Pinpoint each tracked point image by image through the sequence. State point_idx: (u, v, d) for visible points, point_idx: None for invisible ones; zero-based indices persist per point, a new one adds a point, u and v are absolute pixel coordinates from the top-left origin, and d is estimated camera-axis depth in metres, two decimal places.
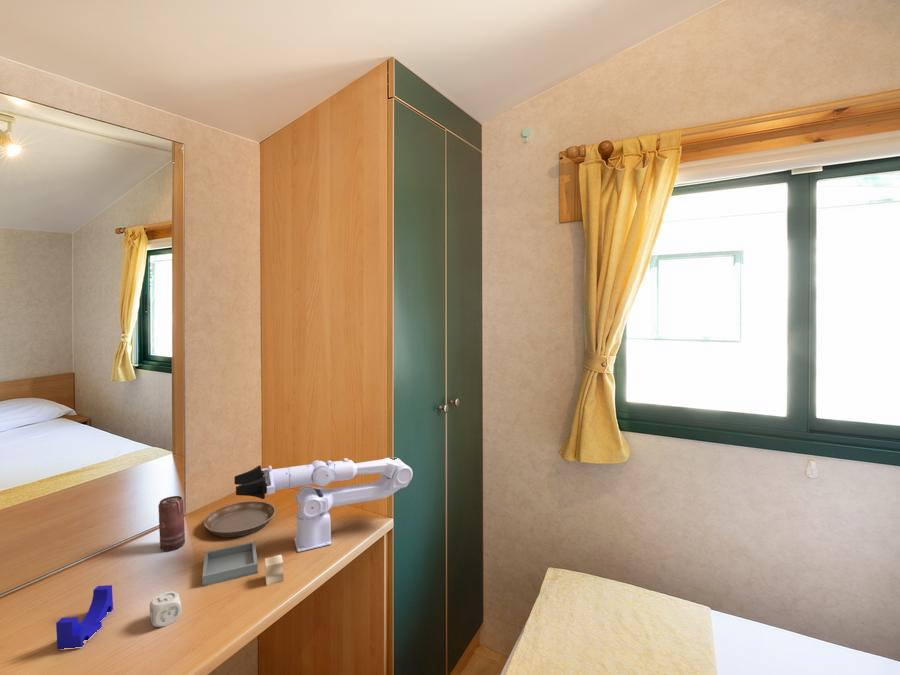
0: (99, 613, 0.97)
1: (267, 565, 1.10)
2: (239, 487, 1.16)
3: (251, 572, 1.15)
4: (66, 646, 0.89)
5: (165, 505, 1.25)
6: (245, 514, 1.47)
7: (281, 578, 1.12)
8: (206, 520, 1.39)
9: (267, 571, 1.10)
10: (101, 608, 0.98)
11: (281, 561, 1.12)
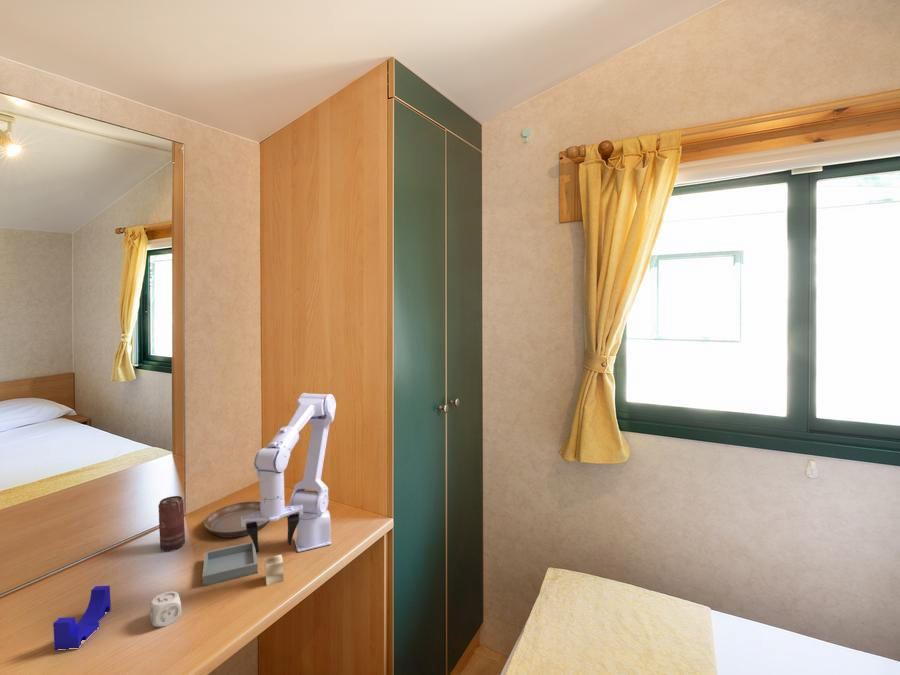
0: (97, 613, 0.97)
1: (267, 565, 1.10)
2: None
3: (251, 572, 1.15)
4: (63, 646, 0.89)
5: (165, 505, 1.25)
6: (245, 514, 1.47)
7: (281, 578, 1.12)
8: (206, 520, 1.39)
9: (267, 571, 1.10)
10: (99, 608, 0.98)
11: (281, 561, 1.12)
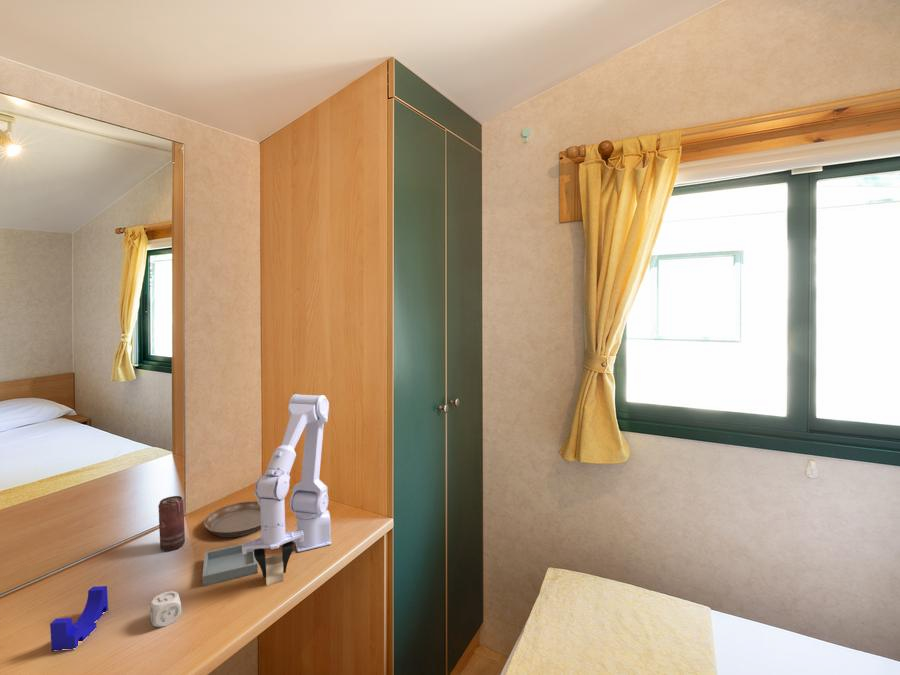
0: (94, 614, 0.97)
1: (267, 565, 1.10)
2: (285, 569, 1.13)
3: (251, 572, 1.15)
4: (60, 647, 0.89)
5: (165, 505, 1.25)
6: (245, 514, 1.47)
7: (281, 578, 1.12)
8: (206, 520, 1.39)
9: (267, 571, 1.10)
10: (96, 609, 0.98)
11: (281, 561, 1.12)
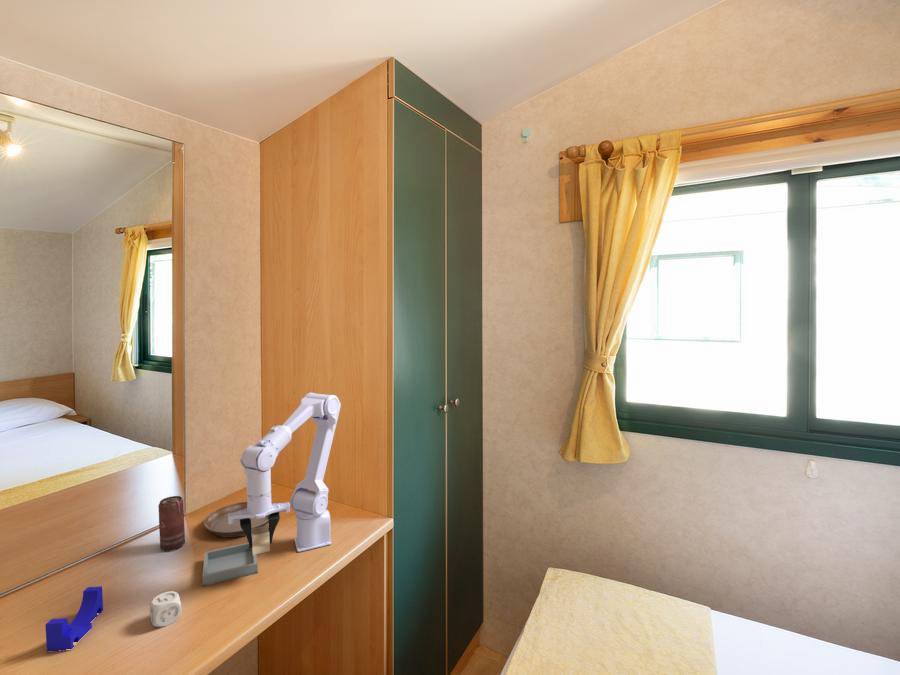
0: (89, 614, 0.97)
1: (253, 535, 1.11)
2: (271, 539, 1.14)
3: (251, 572, 1.15)
4: (55, 648, 0.89)
5: (165, 505, 1.25)
6: None
7: (267, 548, 1.13)
8: (206, 520, 1.39)
9: (253, 541, 1.11)
10: (91, 609, 0.98)
11: (267, 531, 1.13)
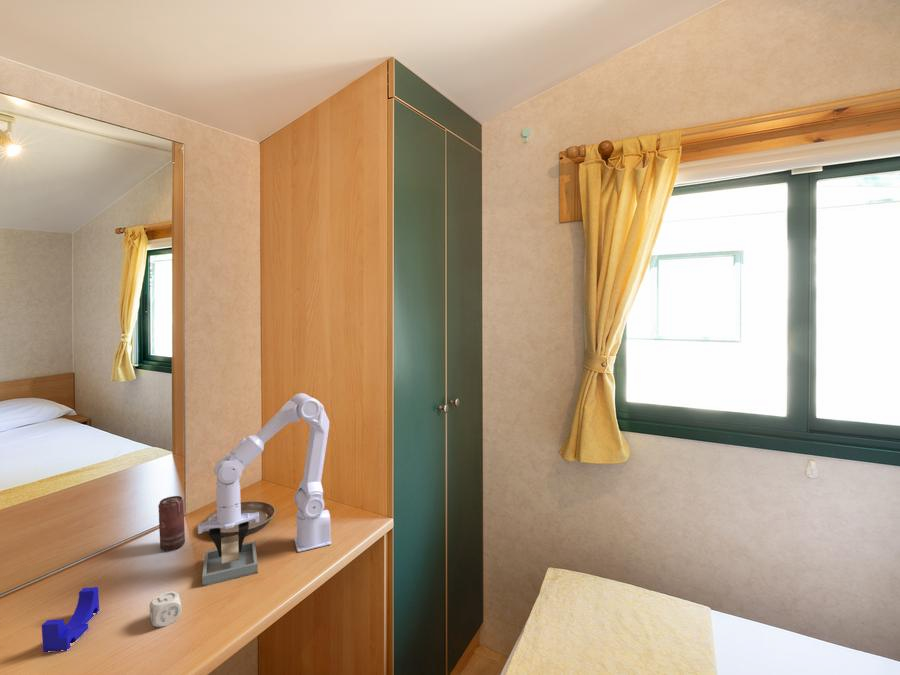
0: (85, 615, 0.97)
1: (222, 544, 1.15)
2: (241, 548, 1.18)
3: (251, 572, 1.15)
4: (52, 648, 0.89)
5: (165, 505, 1.25)
6: None
7: (236, 557, 1.17)
8: (206, 520, 1.39)
9: (222, 550, 1.15)
10: (87, 610, 0.97)
11: (236, 540, 1.17)
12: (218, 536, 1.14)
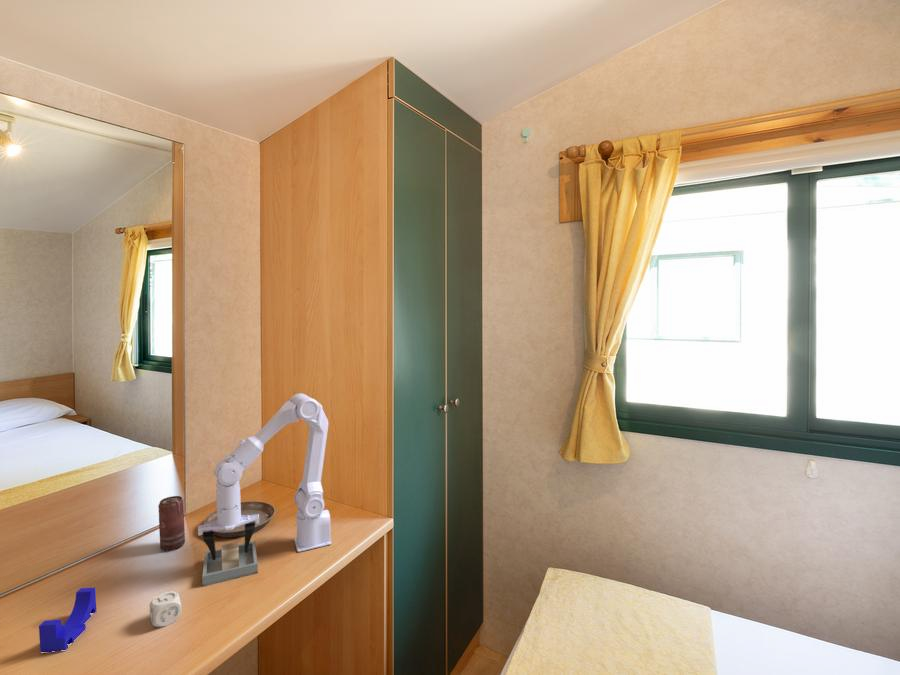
0: (83, 615, 0.97)
1: (223, 551, 1.15)
2: (247, 549, 1.19)
3: (251, 572, 1.15)
4: (49, 649, 0.88)
5: (165, 505, 1.25)
6: (245, 514, 1.47)
7: (236, 564, 1.17)
8: (206, 520, 1.39)
9: (223, 557, 1.15)
10: (84, 610, 0.97)
11: (237, 548, 1.17)
12: (211, 539, 1.13)
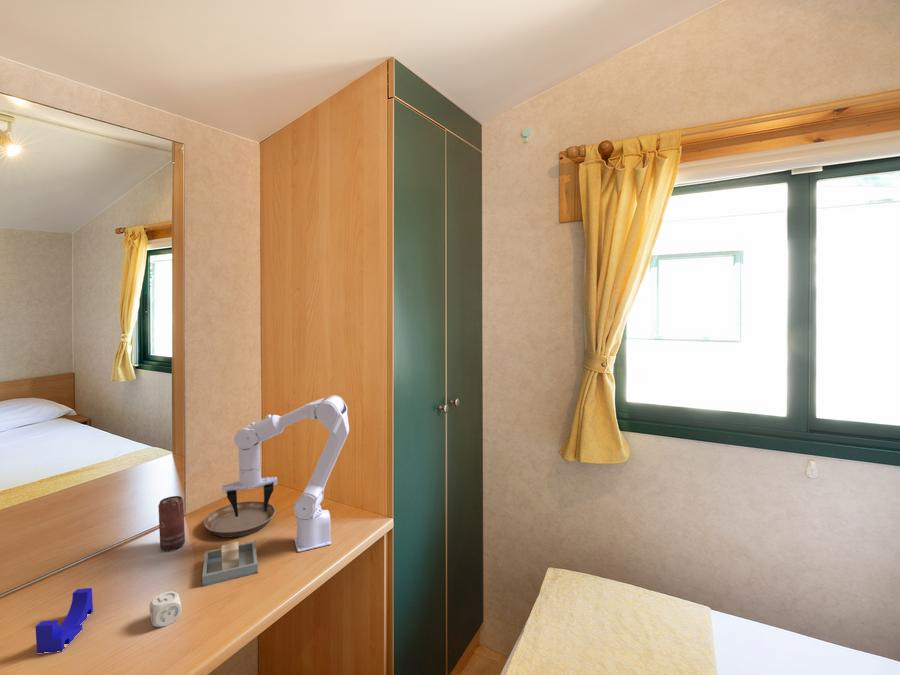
0: (79, 616, 0.96)
1: (223, 551, 1.15)
2: (266, 508, 1.30)
3: (251, 572, 1.15)
4: (46, 650, 0.88)
5: (165, 505, 1.25)
6: (245, 514, 1.47)
7: (236, 564, 1.17)
8: (206, 520, 1.39)
9: (223, 557, 1.15)
10: (81, 611, 0.97)
11: (237, 548, 1.17)
12: (235, 497, 1.25)
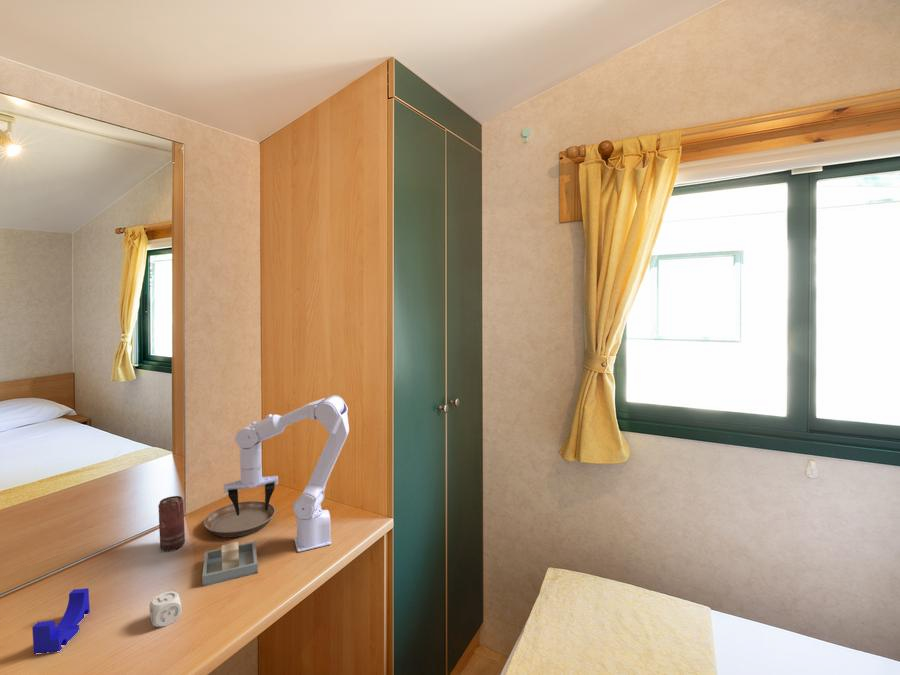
0: (76, 616, 0.96)
1: (223, 551, 1.15)
2: (267, 507, 1.31)
3: (251, 572, 1.15)
4: (43, 650, 0.88)
5: (165, 505, 1.25)
6: (245, 514, 1.47)
7: (236, 564, 1.17)
8: (206, 520, 1.39)
9: (223, 557, 1.15)
10: (78, 611, 0.97)
11: (237, 548, 1.17)
12: (236, 496, 1.26)
